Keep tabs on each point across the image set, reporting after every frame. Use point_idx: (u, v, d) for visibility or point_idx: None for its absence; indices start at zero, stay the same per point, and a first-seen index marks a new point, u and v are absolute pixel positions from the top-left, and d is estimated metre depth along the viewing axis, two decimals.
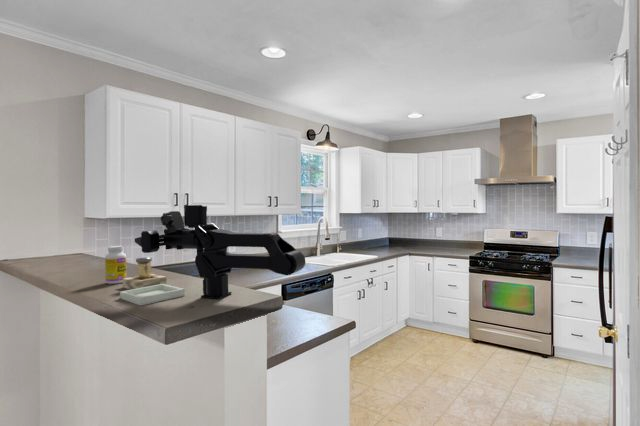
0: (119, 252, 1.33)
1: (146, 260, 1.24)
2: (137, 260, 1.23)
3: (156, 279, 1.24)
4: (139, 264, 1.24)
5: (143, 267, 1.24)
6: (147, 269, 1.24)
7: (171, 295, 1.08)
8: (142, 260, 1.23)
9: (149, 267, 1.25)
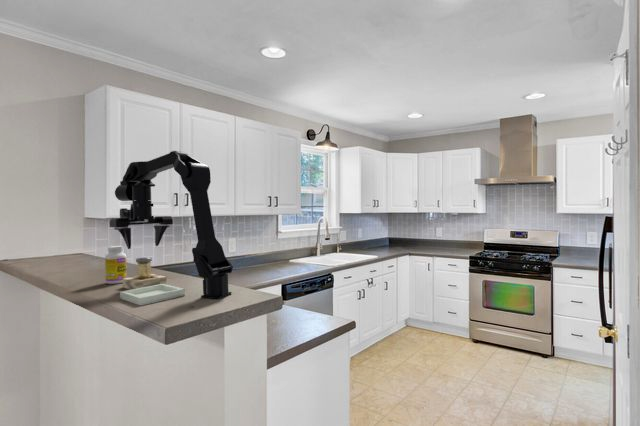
0: (119, 252, 1.33)
1: (146, 260, 1.24)
2: (137, 260, 1.23)
3: (156, 279, 1.24)
4: (139, 264, 1.24)
5: (143, 267, 1.24)
6: (147, 269, 1.24)
7: (171, 295, 1.08)
8: (142, 260, 1.23)
9: (149, 267, 1.25)
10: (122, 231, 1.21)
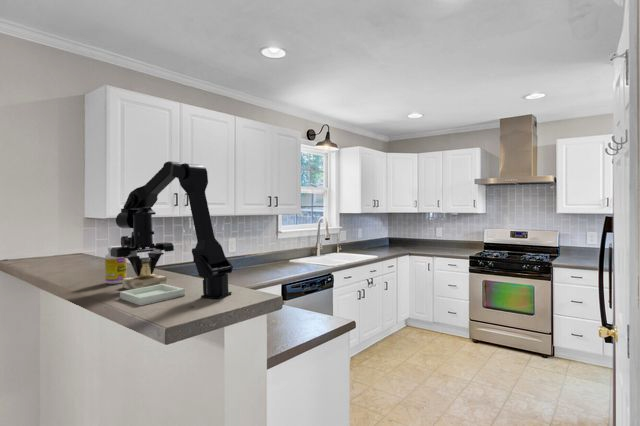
0: None
1: (146, 260, 1.24)
2: None
3: (156, 279, 1.24)
4: None
5: (143, 267, 1.24)
6: (147, 269, 1.24)
7: (171, 295, 1.08)
8: (142, 260, 1.23)
9: (149, 267, 1.25)
10: (131, 259, 1.23)
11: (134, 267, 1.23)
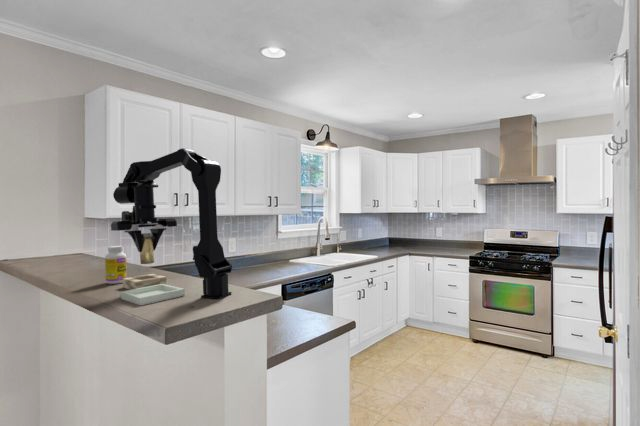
0: (119, 252, 1.33)
1: (148, 235, 1.18)
2: None
3: (156, 279, 1.24)
4: (141, 239, 1.18)
5: (145, 243, 1.18)
6: (149, 244, 1.19)
7: (171, 295, 1.08)
8: (144, 235, 1.18)
9: (151, 242, 1.20)
10: (132, 234, 1.18)
11: (136, 242, 1.18)
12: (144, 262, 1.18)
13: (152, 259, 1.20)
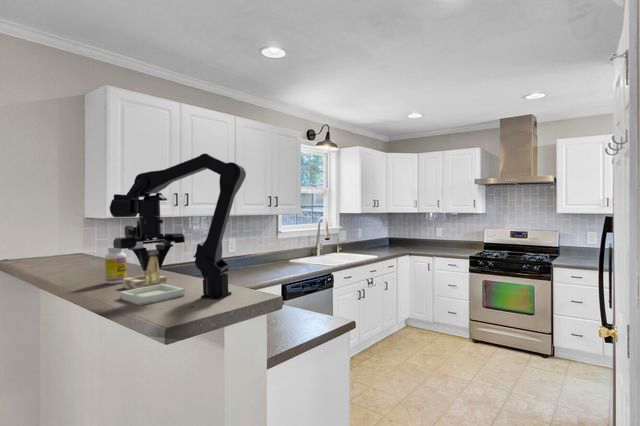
0: (119, 252, 1.33)
1: (154, 252, 1.09)
2: None
3: None
4: None
5: (151, 261, 1.08)
6: (155, 263, 1.09)
7: (171, 295, 1.08)
8: (149, 252, 1.08)
9: (157, 260, 1.10)
10: (136, 251, 1.08)
11: (140, 260, 1.08)
12: (149, 282, 1.09)
13: (158, 278, 1.10)
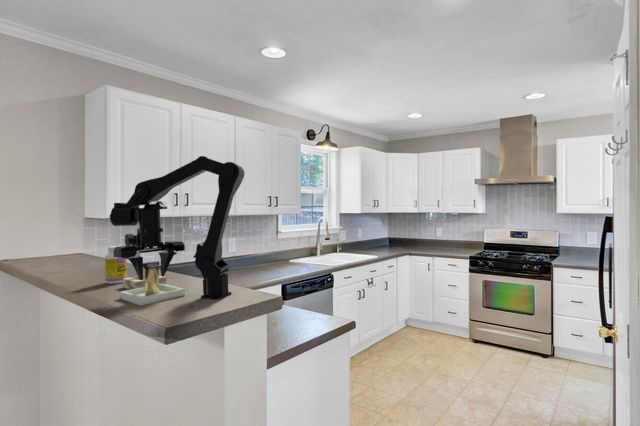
0: None
1: (153, 264, 1.09)
2: (143, 265, 1.08)
3: None
4: (145, 269, 1.09)
5: (150, 273, 1.09)
6: (155, 275, 1.09)
7: (171, 295, 1.08)
8: (149, 265, 1.08)
9: (157, 272, 1.10)
10: (133, 260, 1.07)
11: (137, 270, 1.07)
12: (149, 294, 1.09)
13: (158, 290, 1.10)
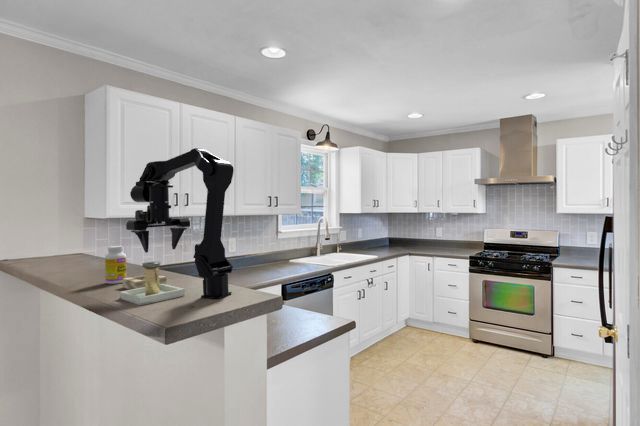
0: (119, 252, 1.33)
1: (154, 265, 1.09)
2: (144, 265, 1.08)
3: None
4: (146, 269, 1.09)
5: (151, 273, 1.09)
6: (155, 275, 1.09)
7: (171, 295, 1.08)
8: (150, 265, 1.08)
9: (157, 273, 1.10)
10: (139, 234, 1.16)
11: (143, 243, 1.16)
12: (149, 294, 1.09)
13: (158, 291, 1.10)
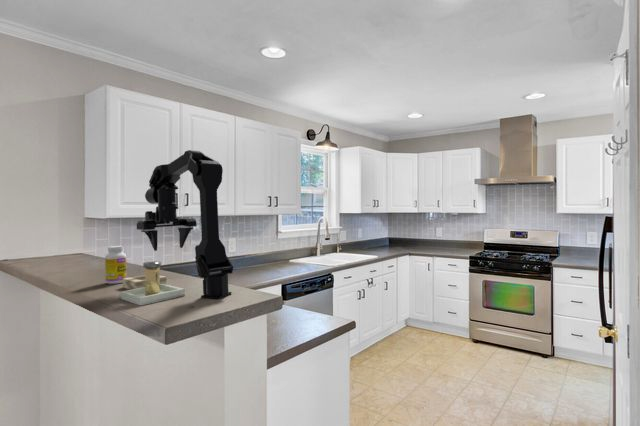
0: (119, 252, 1.33)
1: (155, 265, 1.09)
2: (145, 265, 1.08)
3: None
4: (147, 269, 1.09)
5: (152, 273, 1.09)
6: (156, 275, 1.09)
7: (171, 295, 1.08)
8: (151, 265, 1.08)
9: (158, 273, 1.10)
10: (149, 233, 1.24)
11: (152, 241, 1.23)
12: (149, 294, 1.09)
13: (158, 291, 1.10)
